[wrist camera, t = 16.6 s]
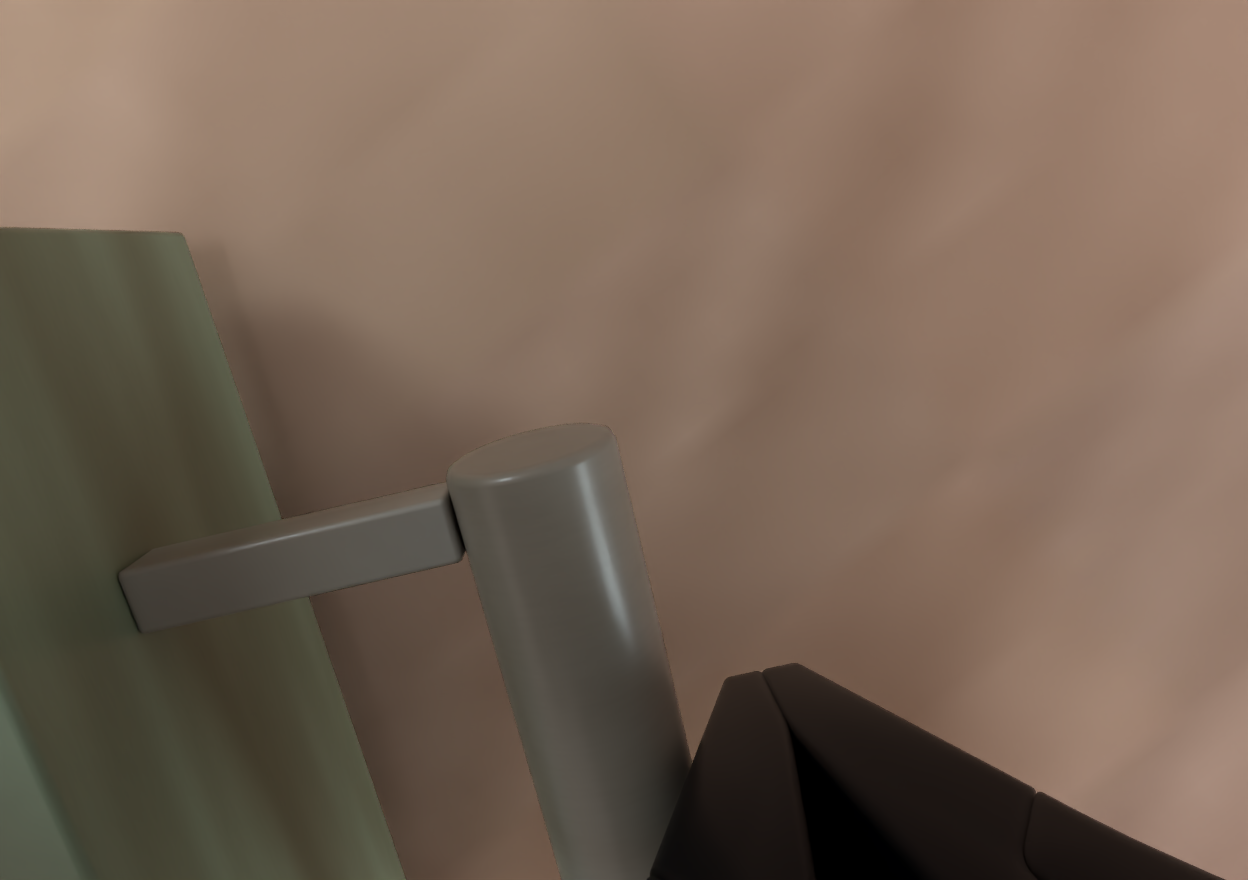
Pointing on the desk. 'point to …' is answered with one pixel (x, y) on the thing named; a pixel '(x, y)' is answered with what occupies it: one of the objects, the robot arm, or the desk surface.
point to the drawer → (273, 605)
